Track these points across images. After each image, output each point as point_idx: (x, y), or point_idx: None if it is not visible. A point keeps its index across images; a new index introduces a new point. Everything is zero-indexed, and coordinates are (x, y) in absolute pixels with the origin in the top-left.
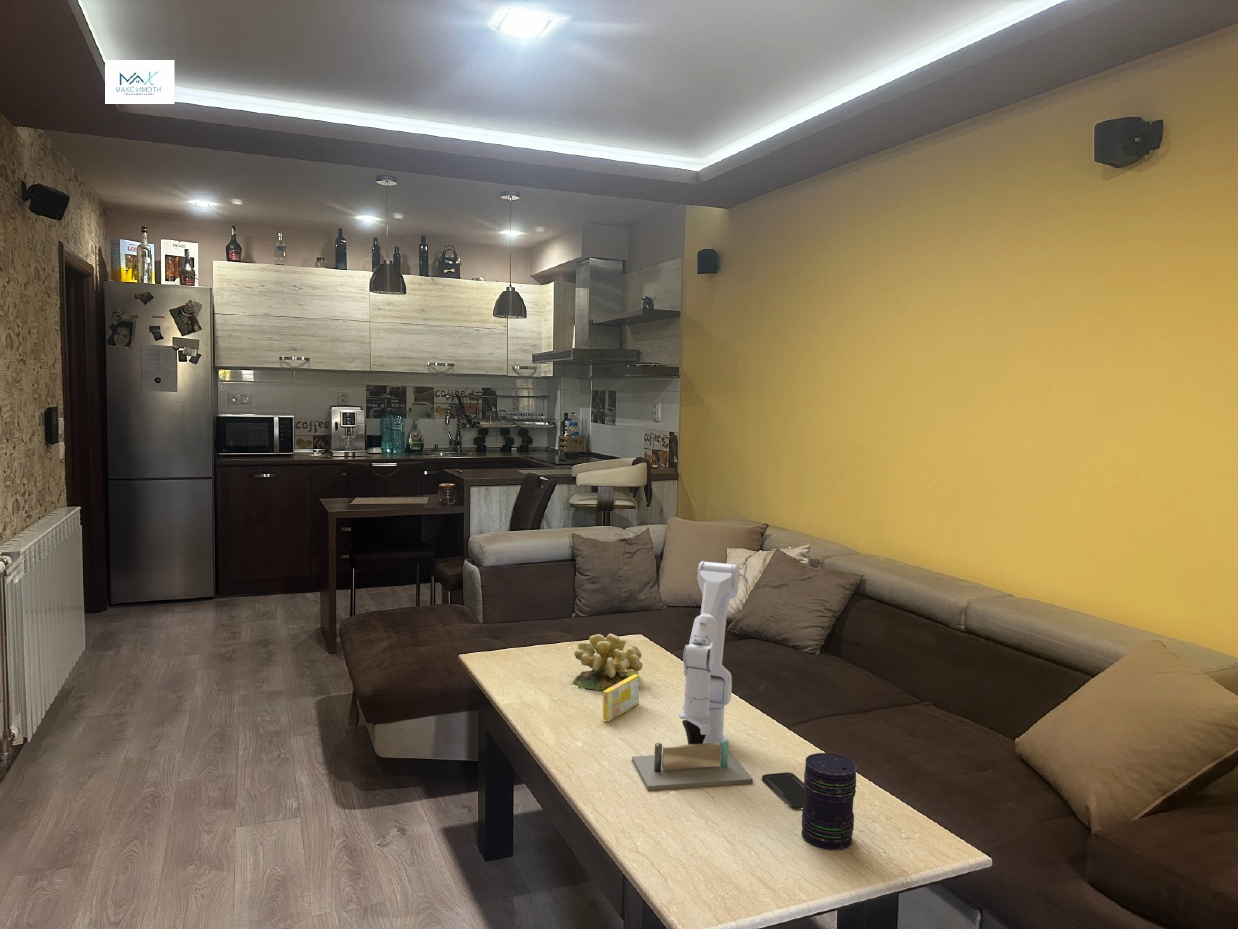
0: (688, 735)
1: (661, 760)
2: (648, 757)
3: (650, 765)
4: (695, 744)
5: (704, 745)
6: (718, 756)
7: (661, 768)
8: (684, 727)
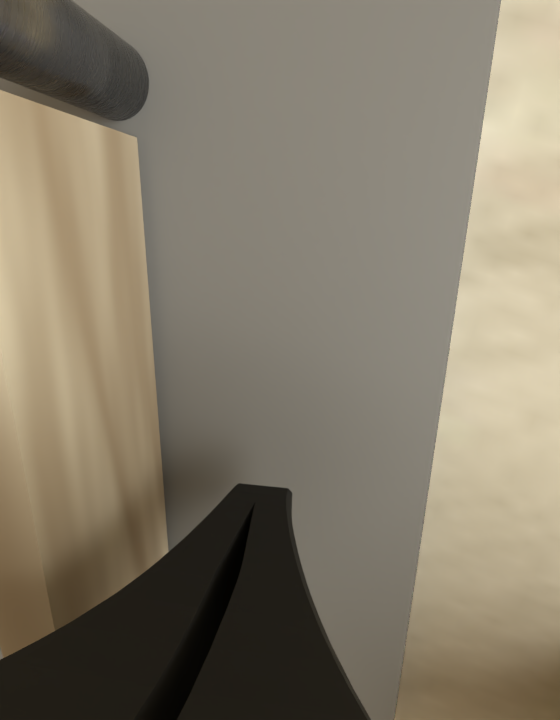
0: (163, 616)
1: (37, 91)
2: (438, 56)
3: (234, 27)
4: (30, 581)
5: (6, 655)
6: None
7: (154, 137)
8: (331, 702)
